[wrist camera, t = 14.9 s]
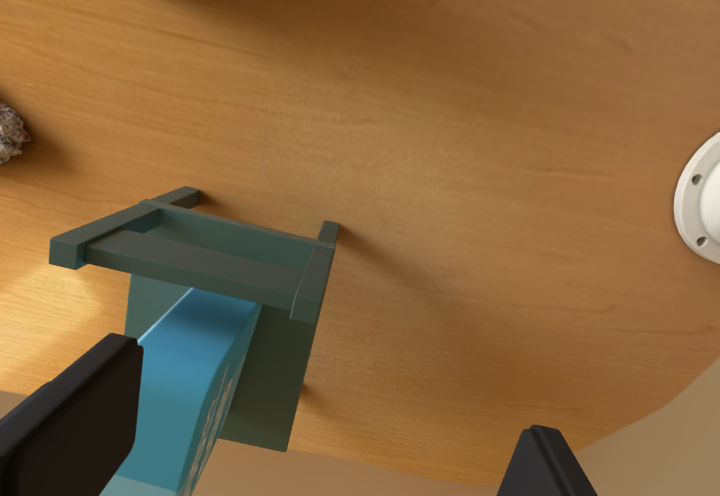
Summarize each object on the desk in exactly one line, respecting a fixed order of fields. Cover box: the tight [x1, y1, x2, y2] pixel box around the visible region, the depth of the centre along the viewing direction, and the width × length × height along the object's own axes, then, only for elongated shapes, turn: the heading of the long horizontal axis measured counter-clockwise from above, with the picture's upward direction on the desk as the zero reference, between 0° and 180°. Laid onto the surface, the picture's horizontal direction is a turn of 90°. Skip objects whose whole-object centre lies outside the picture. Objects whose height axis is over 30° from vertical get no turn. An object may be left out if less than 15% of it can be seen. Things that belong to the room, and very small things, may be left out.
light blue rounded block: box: [99, 288, 262, 496], centre depth 28 cm, size 12×4×12 cm, turn 161°
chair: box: [49, 186, 340, 452], centre depth 33 cm, size 14×18×17 cm
